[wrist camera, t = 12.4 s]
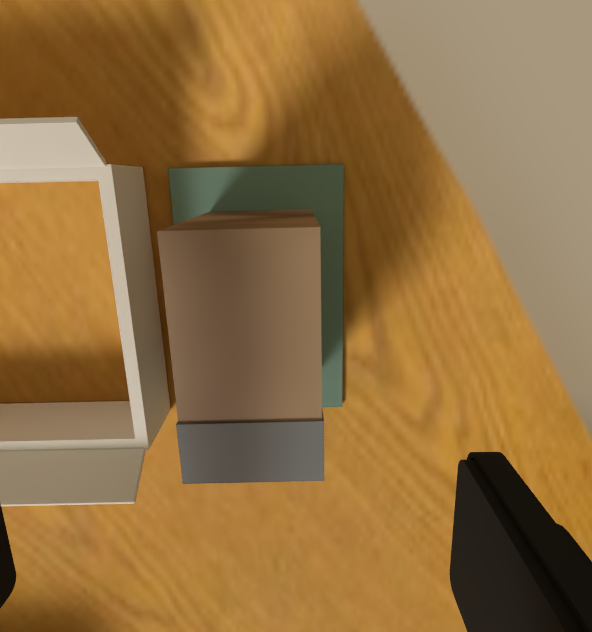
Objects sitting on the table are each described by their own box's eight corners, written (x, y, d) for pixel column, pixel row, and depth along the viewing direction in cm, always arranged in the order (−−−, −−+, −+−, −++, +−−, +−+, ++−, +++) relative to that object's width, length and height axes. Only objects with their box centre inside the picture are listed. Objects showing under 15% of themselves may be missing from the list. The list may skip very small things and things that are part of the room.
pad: (343, 164, 22) (343, 164, 22) (341, 404, 26) (342, 406, 26) (169, 168, 22) (168, 168, 22) (192, 407, 26) (192, 410, 26)
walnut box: (311, 209, 22) (322, 227, 14) (314, 376, 25) (324, 480, 16) (208, 211, 22) (154, 231, 14) (222, 378, 25) (182, 484, 16)
